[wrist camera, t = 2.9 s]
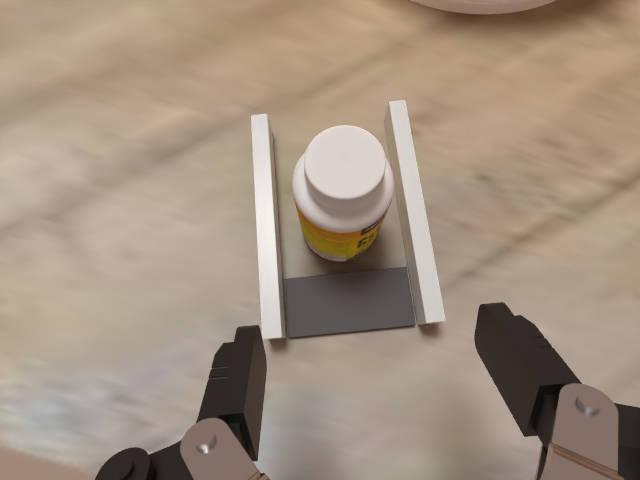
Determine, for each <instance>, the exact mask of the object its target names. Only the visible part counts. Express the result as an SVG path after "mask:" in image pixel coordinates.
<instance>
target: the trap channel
mask: <svg viewBox="0 0 640 480" xmlns="http://www.w3.org/2000/svg"><path fill="white" fill-rule="evenodd" d="M384 123H385V129H386V135H387V141H388V148H389V154H390V160H391V166H392V172H393V176H394V184H395V191H396V197H397V203H398V209H399V215H400V221H401V227H402V234H403V240H404V246H405V252H406V258H407V264H408V270H409V277H410V283H411V289H412V295H413V301H414V307H415V313H416V319H417V325H422V324H432V323H438V322H443V321H446V320H445V314H444V309H443V304H442V298H441V293H440V287H439V282H438V276H437V271H436V265H435V260H434V255H433V249H432V244H431V238H430V233H429V227H428V222H427V217H426V211H425V206H424V200H423V195H422V189H421V184H420V178H419V173H418V168H417V162H416V157H415V151H414V146H413V140H412V135H411V130H410V124H409V119H408V113H407V108H406V102H405V100H400V101H390V102H389V103H388V107H387V112H386V116H385V120H384ZM251 124H252V143H253V163H254V183H255V203H256V222H257V242H258V262H259V282H260V301H261V321H262V339H267V340H270V339H281V338H286V325H285V310H284V295H283V281H282V266H281V251H280V236H279V222H278V207H277V192H276V177H275V163H274V148H273V133H272V129H271V125H270V122H269V118H268V115H267V114H261V115H251ZM285 292H286V307H287V321H288V335H289V338H291V337H301V336H311V335H321V334H331V333H341V332H351V331H362V330H372V329H382V328H392V327H402V326H412V325H416V323H415V317H414V311H413V305H412V299H411V292H410V286H409V280H408V274H407V268H406V267H400V268H390V269H380V270H370V271H360V272H350V273H340V274H330V275H320V276H310V277H300V278H289V279H285Z"/></svg>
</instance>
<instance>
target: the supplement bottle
mask: <svg viewBox="0 0 640 480" xmlns="http://www.w3.org/2000/svg"><path fill="white" fill-rule="evenodd" d="M292 189H293V195H294V200H295V204H296V208H297V212H298V216H299V220H300V224H301V228H302V232H303V236H304V238H305V241H306V242H307V244H308V246H309V247H310V248H311V249H312V250H313V251H314V252H315V253H316V254H318V255H319V256H321V257H323V258H325V259H328V260H332V261H348V260H352V259H355V258H357V257H359V256H361V255H362V254H363V253H365V252H366V251H367V250H368V249H369V248H370V246H371V245H372V244H373V242H374V240H375V238H376V236H377V233H378V231H379V229H380V226H381V224H382V222H383V220H384V218H385V215H386V213H387V210H388V208H389V206H390V203H391V200H392V197H393V193H394V176H393V172H392V169H391V166H390V164H389V162H388V160H387V159H386V157H385V153H384V150H383V148H382V146H381V144H380V143H379V141H378V140H377V139H376V138H375V137H374V136H373V135H372V134H370V133H369V132H368V131H366V130H364V129H362V128H359V127H355V126H349V125H341V126H335V127H331V128H329V129H326V130H324V131H323V132H321V133H320V134H318V135H317V136H316V137H315V138H314V139H313V140H312V141H311V143H310V144H309V146H308V148H307V150H306V152H305V153H304V154H303V155H302V156H301V158H300V159H299V161H298V163H297V165H296V167H295V170H294V173H293V179H292Z"/></svg>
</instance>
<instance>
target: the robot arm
mask: <svg viewBox="0 0 640 480" xmlns="http://www.w3.org/2000/svg"><path fill="white" fill-rule="evenodd" d="M475 346H476V349H477V352H478V354H479V356H480V358H481V359H482V361H483V363H484V365H485V367H486V368H487V370H488V372H489V374H490V376H491V377H492V379H493V381H494V383H495V385H496V386H497V388H498V390H499V392H500V394H501V395H502V397H503V399H504V401H505V403H506V405H507V406H508V408H509V410H510V412H511V414H512V415H513V417H514V419H515V421H516V423H517V424H518V426H519V428H520V430H521V432H522V433H523V435H524V437H527V436H537V435H538V437H539V438H540V440H541V442H542V446H541V449H540V454H539V459H538V465H537V470H536V475H535V480H640V408H638V407H632V406H627V405H621V404H616V403H613V402H612V400H611V399H610V398H609V397H608V396H606V395H605V394H604V393H602V392H601V391H599V390H597V389H595V388H593V387H591V386H588V385H584V384H582V383H581V382H580V381H579V379H578V378H577V377H576V376H575V374H574V373H573V372H572V371H571V369H570V368H569V367H568V366H567V364H566V363H565V362H564V361H563V359H562V358H561V357H560V356H559V354H558V353H557V352H556V351H555V349H554V348H552V347H551V344H550V343H549V342H548V341H547V339H546V338H545V339H544V336H543V334H542V333H541V332H540V331H539V329H538V328H537V327H536V326H535V325H534V324H533V323H531V322H530V321H528V320H527V319H526V318H524V317H523V316H521V315H518V316H514V315H513V313H512V312H511V311H510V309H509V308H508V307H507V305H506V304H505V303H503V302H500V303H490V304H481V305H480V307H479V311H478V317H477V323H476V330H475ZM266 371H267V364H266V355H265V350H264V345H263V341H262V336H261V332H260V328H259V325H253V326H243V327H238V328H237V330H236V335H235V339H234V342H229V343H223V345H222V346H221V347H220V349H219V350H218V351H217V352H216V354H215V356H214V360H213V364H212V370H211V371H210V375H209V380H208V382H207V386H206V390H205V394H204V397H203V401H202V405H201V408H200V412H199V416H198V419H197V422H196V424H194V425H193V426H192V427H191V428H190V429H189V430H188V431H187V432H186V433H185V435H184V437H183V439H182V440H181V441H179V442H177V443H176V444H174V445H172V446H169V447H167V448H164V449H162V450H159V451H157V452H154V453H152V454H149V455H148V453H147V452H146V451H145V450H143V449H141V448H136V447H135V448H128V449H125V450H122V451H120V452H118V453H117V454H115V455H114V456H112V457H111V458H110V459H109V460H108V461H107V462H106V463H105V464H104V465H103V466H102V467H101V469H100V470H99V472H98V474H97V476H96V478H95V480H270V479H269V477H268V476H267V475H266V474H265V473H263V474H262V473H260V471H259V470H258V469H257V467H256V466H255V464H254V463H253V461H257V460H258V450H259V441H260V431H261V421H262V411H263V401H264V391H265V382H266Z"/></svg>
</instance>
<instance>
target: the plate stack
mask: <svg viewBox="0 0 640 480" xmlns="http://www.w3.org/2000/svg"><path fill="white" fill-rule="evenodd" d="M410 1H413V2H415V3H418V4H421V5H424V6H428V7H432V8H435V9H440V10H445V11H450V12H457V13H465V14H503V13H512V12H518V11H524V10H529V9H533V8H536V7H540V6H543V5H546V4H549V3H552V2H554V1H557V0H410Z"/></svg>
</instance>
